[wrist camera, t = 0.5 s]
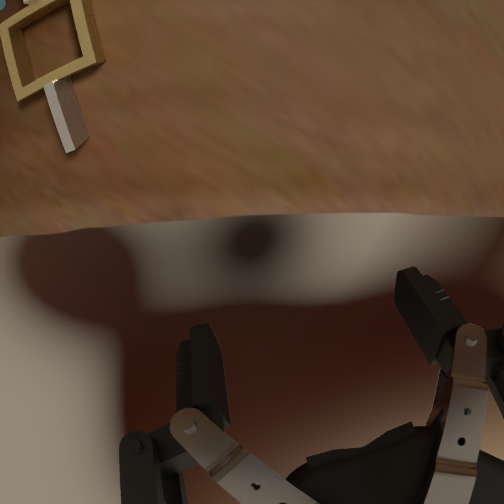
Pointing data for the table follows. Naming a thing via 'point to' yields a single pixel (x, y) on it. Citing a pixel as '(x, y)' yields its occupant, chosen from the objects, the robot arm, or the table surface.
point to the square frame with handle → (58, 80)
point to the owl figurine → (2, 4)
